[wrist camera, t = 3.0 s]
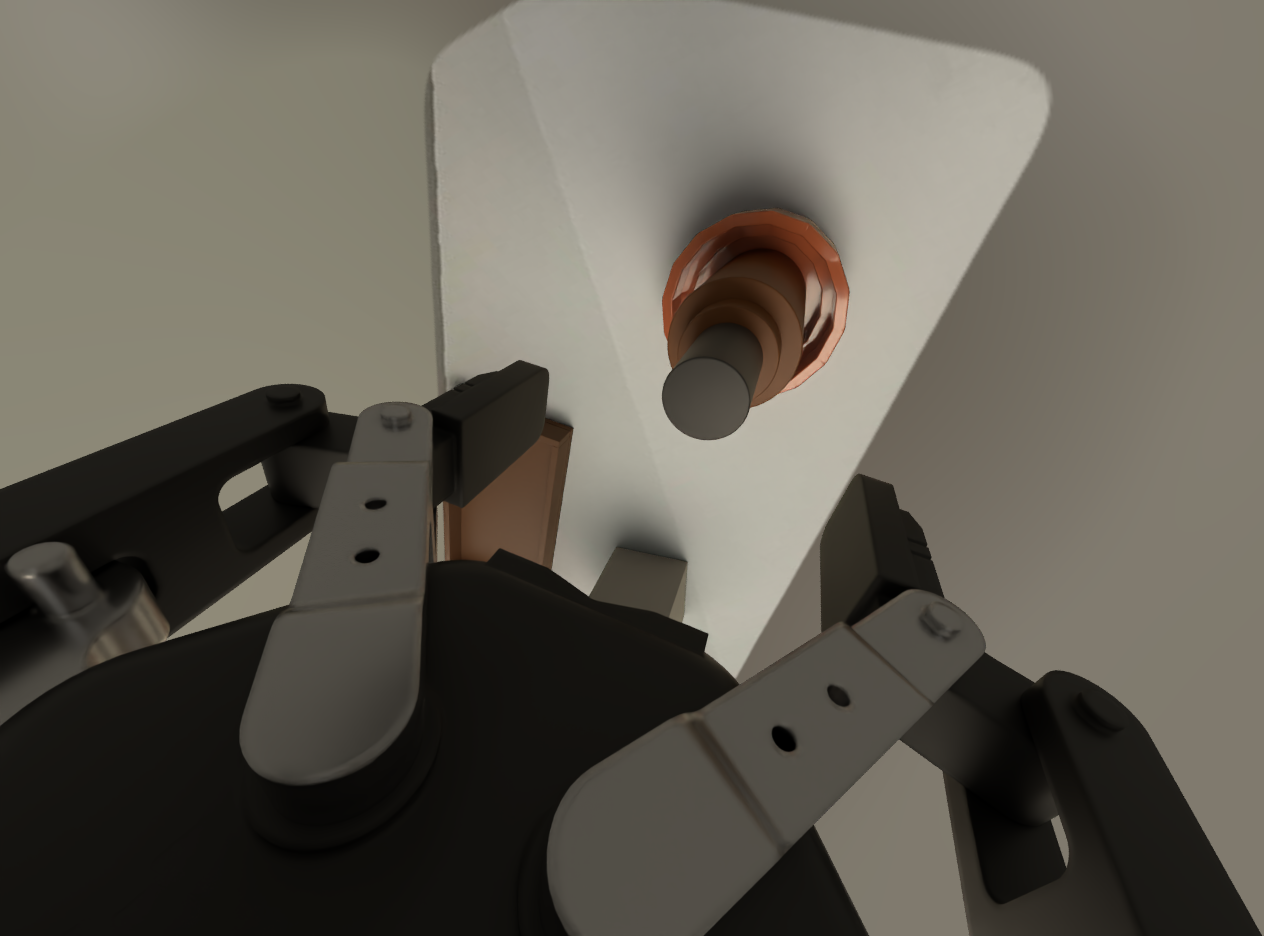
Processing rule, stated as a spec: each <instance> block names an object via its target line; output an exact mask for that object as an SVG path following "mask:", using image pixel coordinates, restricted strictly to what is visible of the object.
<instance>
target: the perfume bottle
mask: <svg viewBox="0 0 1264 936" xmlns="http://www.w3.org/2000/svg"><path fill="white" fill-rule="evenodd" d="M686 578H687V562H685V561H680V560H676V559H671V558H666V557H661V556H657V555H652V554H647V553H642V552H638V551H633V550H628V549H623V548H619V547H616V548H615V550H614V552H613V554H612V556H611V557H610V559H609V561H608V563H607V565H606V567H605V568H604V570H603V572H602V574H601V576H600V577H599V579H598V581H597V583H596V585H595V586H594V588H593V590H592V592H591V594H590V595H589V597H590V598H592V599H594V600H597V601H601V602H606V603H612V604H617V605H622V606H628V607H633V608H638V609H644V610H649V611H654V612H657V613H659V614H661V615H664V616H666V617H669V618H671V619H674V620H676V621H678V622H681V623H682V621H683V617H684V610H685V594H686Z"/></svg>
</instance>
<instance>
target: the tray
mask: <svg viewBox="0 0 1264 936" xmlns="http://www.w3.org/2000/svg"><path fill="white" fill-rule="evenodd" d="M572 434H573V428H571V427H569V426H566V425H563V424H560V423H558V422H555V421H552V420H549V419H547V418H545V423H544V428H543V431H542V433H541V435H540V437H539V439H538V440H537V442H536V443H535V444H534V445H533V446H532V447H530V448H529V449H528V450H527V451H526V452H525V453H524V454H523V455H522V456H520V457H519V458H518V459H517V460H516V461H515V462H514V463H513V464H512V465H510V466H509V467H508V468H507V469H506V470H505V471H504V472H503V473H501V474H500V475H499V476H498V477H497V478H496V479H495V480H494V481H493V482H491V483H490V484H489V485H488V486H487V487H486V488H485V489H484V490H483V491H481V492H480V493H479V494H478V495H477V496H476V497H475V498H474V499H472V500H471V501H470V502H469V503H468V504H467V505H466V506H465V507H464V508H460V507H458V506H455V505H453V504H450V503H448V502H445V501H443V508H444V542H445V561H449V560H478V561H485V562H487V561H488V560H489V559H490V558H491V557H492V556H493V555H494V553H495V552H496V551H497V550H498V549H499V548H501V549H504V550H506V551H508V552H511V553H513V554H516V555H518V556H521V557H523V558H525V559H528V560H530V561H533V562H535V563H538V564H540V565H542V566H545V567H547V568H549V569H550V570H551V568H552V562H553V555H554V549H555V542H556V536H557V530H558V523H559V517H560V510H561V504H562V498H563V491H564V485H565V478H566V472H567V466H568V459H569V453H570V446H571V440H572Z"/></svg>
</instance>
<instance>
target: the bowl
mask: <svg viewBox="0 0 1264 936" xmlns="http://www.w3.org/2000/svg"><path fill="white" fill-rule="evenodd" d="M758 248H766V249H772V250H776V251H779V252H781V253H783V254H785V255H786V256H788V257H789V258H791V259H792V260H793V261H794V262H795V263H796V265H797V266H798V267H799V269H800V271H801V272H802V275H803V277H804V281H805V285H806V305H805V320H804V335H803V348H802V355H801V359H800V362H799V365H798V368H797V370H796V372H795V374H794V376H793V377H792V379H791V380H790V382H789V383H788V384H787V385H786V387H785V388H784V389H783V390H782V391H781V392H779V393H782V392H785V391H788V390H791V389H794V388H796V387H798V386H799V385H801V384H802V383H803V382H804V381H806V380H807V379H808V378H809V377H810V376H812V375H813V374H814V373H815V372H816V371H818V370H819V369H820V368H821V367H823V366H824V365H825V363H827V361H828V359H829V357H830V356H831V354H832V352H833V350H834V349H835V347H836V345H837V343H838V341H839V340H840V338H841V336H842V334H843V333H844V330H845V325H846V317H847V309H848V301H849V293H850V292H849V287H848V284H847V280H846V277H845V274H844V271H843V267H842V264H841V261H840V258H839V255H838V252H837V249H836V247H835V245H834V243H833V242H832V241H831V240H830V239H829V238H828V237H827V236H826V235H825V234H824V233H823V232H822V231H821V230H820V229H819V227H818V226H817V225H816V224H815V223H814V222H813V221H812V220H810V219H808V218H806V217H803V216H800V215H797V214H795V213H792V212H789V211H786V210H783V209H781V208H768V209H758V210H748V211H742V212H739V213H735V214H732V215H730V216H728V217H726V218H724V219H723V220H721V221H719V222H717V223H715V224H714V225H712V226H710V227H708V228H707V229H705V230H703V231H701V232H699V233H698V234H697V235H696V236H695V237H694V238H693V240H692V241H691V242H690V243H689V245H688V246H687V247H686V248H685V250H684V251H683V252H682V253H681V255H680V256H679V257H678V258H677V260H676V261H675V262H674V264H673V266H672V269H671V272H670V275H669V278H668V281H667V285H666V288H665V291H664V294H663V297H662V307H663V324H664V333H665V336H666V339H667V341H668V333H669V328H670V325H671V322H672V319H673V317H674V315H675V313H676V311H677V309H678V308H679V306H680V305H681V304H682V302H683V301H684V300H685V299H686V298H687V297H688V296H689V295H690V294H691V293H692V292H693V291H694V290H696V289H697V288H698V287H699V286H700V285H702V284H703V283H704V282H705V281H706V280H707V279H709V278H710V277H711V276H712V275H713V274H715V273H716V272H717V271H718V270H719V269H721V268H722V267H723V266H724V265H725V264H727V263H728V262H729V261H730V260H731V259H733V258H734V257H736V256H737V255H739V254H741V253H743V252H745V251H748V250H752V249H758ZM779 393H778V394H779Z"/></svg>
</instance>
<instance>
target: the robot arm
mask: <svg viewBox="0 0 1264 936" xmlns="http://www.w3.org/2000/svg"><path fill="white" fill-rule="evenodd" d="M548 386H549V372H548V370H547V369H546V368H543V367H540V366H537V365H534V364H531V363H528V362H525V361H522V360H518V361H516V362H515V363H513V364H511V365H509V366H507V367H506V368H504V369H502V370H500V371H499V372H498V371H495V372H490V373H485V374H481V375H477V376H476V377H474V378H472V379H470V380H468V381H466V382H465V384H461V385H459V386H457V387H455V388H454V390H450V391H448V392H446V393H444V394H442V395H441V396H439V397H437V398H435V399H433V400H431V401H429V402H428V403H426V404H424V405H422V406H420V405H417V404H413V403H408V402H386V403H380V404H376V405H373V406H371V407H368V408H367V409H365V410H363V411H362V412H361V413H360V415H359V417H357V416H351V415H345V414H338V413H332V412H328V410H327V405H326V400H325V395H324V394H323V392H321V391H320V390H318V389H316V388H314V387H311V386H306V385H300V384H279V385H271V386H266V387H262V388H259V389H256V390H253V391H251V392H248V393H246V394H243V395H240V396H238V397H236V398H233V399H230V400H228V401H225V402H223V403H220V404H218V405H215V406H213V407H210V408H207V409H205V410H202V411H200V412H197V413H194V414H192V415H189V416H187V417H184V418H182V419H179V420H176V421H174V422H171V423H169V424H167V425H164V426H161V427H159V428H156V429H153V430H151V431H148V432H146V433H143V434H141V435H138V436H135V437H133V438H130V439H128V440H125V441H123V442H120V443H117V444H115V445H112V446H110V447H107V448H105V449H102V450H100V451H97V452H94V453H92V454H89V455H87V456H84V457H82V458H79V459H77V460H74V461H71V462H69V463H66V464H64V465H61V466H59V467H56V468H53V469H51V470H48V471H46V472H43V473H41V474H38V475H35V476H33V477H30V478H28V479H25V480H23V481H20V482H18V483H15V484H12V485H10V486H7V487H5V488H2V489H0V936H869V935H868V933H867V931H866V929H865V927H864V925H863V923H862V921H861V919H860V917H859V915H858V913H857V911H856V909H855V907H854V905H853V903H852V901H851V899H850V897H849V895H848V893H847V891H846V889H845V887H844V885H843V883H842V881H841V879H840V877H839V875H838V873H837V870H836V868H835V866H834V864H833V863H832V861H831V858H830V856H829V854H828V852H827V850H826V848H825V846H824V844H823V843H822V840H821V838H820V836H819V834H818V832H817V830H816V828H815V826H814V824H815V823H816V822H817V821H818V819H820V818H821V816H823V815H824V814H825V813H826V812H827V811H828V809H830V807H832V806H833V805H834V804H835V802H837V801H838V799H840V798H841V797H842V796H843V795H844V794H845V793H846V792H847V791H848V790H849V789H850V788H851V787H852V786H853V785H854V784H855V782H857V781H858V780H859V779H860V778H861V777H862V776H863V775H864V773H866V772H867V770H869V769H870V768H871V767H872V766H873V764H875V763H876V762H877V761H878V760H879V759H880V758H881V757H882V756H883V754H885V753H886V751H888V750H889V749H890V748H891V747H892V746H893V745H894V744H895V743H896V741H897V740H901V741H902V742H903V743H905V744H906V745H908V746H909V747H910V748H912V749H913V750H915V751H916V752H917V753H919V754H920V755H921V756H923V757H924V758H926V759H927V760H928V761H930V762H931V763H932V764H934V765H935V766H937V767H938V768H939V769H941V770H942V771H943V777H944V783H945V789H946V795H947V802H948V807H949V814H950V820H951V826H952V832H953V838H954V845H955V851H956V857H957V863H958V869H959V875H960V881H961V888H962V894H963V900H964V906H965V912H966V918H967V924H968V930H969V936H1262V935H1261V933H1260V931H1259V929H1258V928H1257V926H1256V924H1255V922H1254V921H1253V919H1252V917H1251V915H1250V913H1249V911H1248V910H1247V908H1246V906H1245V904H1244V903H1243V901H1242V899H1241V897H1240V895H1239V894H1238V892H1237V890H1236V889H1235V887H1234V885H1233V883H1232V881H1231V880H1230V878H1229V876H1228V874H1227V872H1226V871H1225V869H1224V867H1223V865H1222V863H1221V862H1220V860H1219V858H1218V856H1217V855H1216V853H1215V851H1214V849H1213V847H1212V846H1211V844H1210V842H1209V840H1208V839H1207V837H1206V835H1205V833H1204V832H1203V830H1202V828H1201V826H1200V824H1199V823H1198V821H1197V819H1196V817H1195V816H1194V814H1193V812H1192V810H1191V808H1190V807H1189V805H1188V803H1187V801H1186V799H1185V798H1184V796H1183V794H1182V792H1181V791H1180V789H1179V787H1178V785H1177V783H1176V782H1175V780H1174V778H1173V776H1172V775H1171V773H1170V771H1169V769H1168V768H1167V766H1166V764H1165V762H1164V760H1163V758H1162V757H1161V755H1160V753H1159V752H1158V750H1157V748H1156V746H1155V744H1154V742H1153V741H1152V739H1151V737H1150V736H1149V734H1148V732H1147V731H1146V729H1145V728H1144V727H1143V725H1142V724H1141V723H1140V721H1139V720H1138V719H1137V718H1136V717H1135V716H1134V715H1133V714H1132V713H1131V712H1130V711H1129V710H1128V709H1127V708H1126V707H1125V706H1124V705H1123V704H1122V703H1121V702H1119V701H1118V700H1117V699H1116V698H1115V697H1113V696H1112V695H1111V694H1109V693H1108V692H1106V691H1105V690H1104V689H1102V688H1100V687H1099V686H1097V685H1095V684H1094V683H1092V682H1090V681H1089V680H1086V679H1085V678H1083V677H1080V676H1078V675H1075V674H1072V673H1070V672H1065V671H1057V670H1055V671H1050V672H1048V673H1046V674H1045V675H1044V676H1043V677H1042V678H1040V679H1039V680H1038V681H1037V682H1036V683H1034V682H1033V681H1031V680H1029V679H1028V678H1026V677H1024V676H1023V675H1021V674H1019V673H1018V672H1016V671H1014V670H1013V669H1011V668H1009V667H1007V666H1006V665H1004V664H1002V663H1001V662H999V661H997V660H996V659H994V658H993V657H991V656H989V655H988V654H987V653H985V649H986V643H985V639H984V636H983V634H982V632H981V631H980V629H979V628H978V626H977V625H976V624H975V622H974V621H973V620H972V619H971V618H970V617H969V616H968V615H967V614H966V613H965V612H964V611H962V610H961V609H960V608H959V607H957V606H956V605H954V604H953V603H952V602H950V601H948V600H946V599H945V598H944V595H943V592H942V589H941V586H940V582H939V579H938V576H937V573H936V570H935V567H934V564H933V561H931V554H930V551H929V548H927V542H926V539H925V536H924V533H923V530H922V528H921V527H920V526H919V524H918V523H917V522H916V521H915V520H914V518H913V517H912V516H911V515H910V513H909V512H907V511H904V510H901V509H899V505H898V502H897V498H896V494H895V491H894V487H893V485H892V484H889V483H886V482H883V481H880V480H877V479H874V478H871V477H868V476H865V475H862V474H857V475H856V476H855V477H854V478H853V480H852V481H851V483H850V484H849V486H848V488H847V490H846V491H845V493H844V495H843V497H842V498H841V500H840V502H839V504H838V505H837V507H836V509H835V511H834V512H833V514H832V516H831V518H830V519H829V521H828V523H827V525H826V527H825V530H824V532H823V535H822V539H821V543H820V571H821V572H820V575H821V633H820V634H819V635H817V636H816V637H814V638H813V639H811V640H810V641H808V642H806V643H805V644H803V645H801V646H800V647H798V648H797V649H795V650H794V651H792V652H790V653H789V654H787V655H786V656H784V657H783V658H781V659H779V660H778V661H776V662H775V663H773V664H772V665H770V666H768V667H767V668H765V669H764V670H762V671H760V672H759V673H757V674H756V675H754V676H753V677H751V678H749V679H748V680H746V681H745V682H743V683H742V684H740V685H739V684H738V682H737V681H736V680H735V678H734V677H733V676H732V675H731V674H730V673H729V672H728V671H727V670H726V669H725V668H724V667H723V666H721V665H720V664H719V663H718V662H717V661H716V660H714V659H713V658H712V657H711V656H709V655H708V654H706V653H705V652H704V651H705V647H706V642H707V638H708V633H705V632H703V631H700V630H698V629H695V628H693V627H691V626H688V625H686V624H683V623H681V622H678V621H676V620H674V619H671V618H669V617H666V616H664V615H661V614H659V613H657V612H654V611H649V610H644V609H638V608H633V607H628V606H622V605H617V604H612V603H606V602H601V601H597V600H594V599H592V598H590V597H589V596H587V595H586V594H584V593H583V592H581V591H580V590H579V589H577V588H576V587H574V586H573V585H572V584H570V583H569V582H567V581H566V580H564V579H563V578H562V577H560V576H559V575H557V574H556V573H555V572H553V571H552V570H550V569H549V568H547V567H545V566H542V565H540V564H538V563H535V562H533V561H530V560H528V559H525V558H523V557H521V556H518V555H516V554H513V553H511V552H508V551H506V550H504V549H501V548H499V549H498V550H497V551H496V552H495V553H494V555H493V556H492V557H491V558H490V559H489V560H488V561H487V562H485V561H478V560H449V561H440V562H437V527H438V524H437V523H438V522H437V520H438V515H437V506H438V505H439V504H440V503H441V502H443V501H445V502H448V503H450V504H453V505H455V506H458V507H460V508H464V507H465V506H466V505H467V504H468V503H469V502H470V501H471V500H472V499H474V498H475V497H476V496H477V495H478V494H479V493H480V492H481V491H483V490H484V489H485V488H486V487H487V486H488V485H489V484H490V483H491V482H493V481H494V480H495V479H496V478H497V477H498V476H499V475H500V474H501V473H503V472H504V471H505V470H506V469H507V468H508V467H509V466H510V465H512V464H513V463H514V462H515V461H516V460H517V459H518V458H519V457H520V456H522V455H523V454H524V453H525V452H526V451H527V450H528V449H529V448H530V447H532V446H533V445H534V444H535V443H536V442H537V440H538V439H539V437H540V435H541V433H542V431H543V428H544V423H545V415H546V405H547V395H548ZM260 462H261V463H262V466H263V469H264V473H265V476H266V480H267V483H268V485H267V486H265V487H263V488H262V489H260V490H258V491H256V492H255V493H253V494H251V495H250V496H248V497H246V498H244V499H243V500H241V501H239V502H238V503H236V504H235V505H233V506H231V507H229V508H228V509H226V510H224V511H221V508H220V506H219V503H218V496H219V493H220V490H221V488H222V487H223V485H224V484H225V483H226V482H227V481H228V480H229V479H231V478H232V477H234V476H236V475H238V474H240V473H242V472H243V471H245V470H247V469H249V468H251V467H253V466H255V465H257V464H258V463H260ZM310 532H312V533H311V537H310V540H309V544H308V547H307V550H306V553H305V556H304V560H303V563H302V566H301V570H300V573H299V576H298V579H297V583H296V586H295V589H294V593H293V596H292V599H291V602H290V604H289V605H286V606H283V607H279V608H276V609H273V610H269V611H266V612H263V613H259V614H256V615H253V616H249V617H246V618H242V619H239V620H236V621H232V622H229V623H226V624H222V625H219V626H215V627H212V628H208V629H205V630H202V631H199V632H195V633H191V634H188V635H185V636H182V637H178V638H175V639H172V640H168V641H166V640H167V638H168V637H170V636H171V635H172V634H173V633H175V632H176V631H178V630H179V629H180V628H182V627H183V626H184V625H186V624H187V623H188V622H190V621H191V620H192V619H194V618H195V617H196V616H198V615H199V614H201V613H202V612H203V611H205V610H206V609H207V608H209V607H210V606H211V605H213V604H214V603H216V602H217V601H218V600H219V599H221V598H222V597H223V596H225V595H226V594H228V593H229V592H230V591H232V590H233V589H234V588H236V587H237V586H239V584H241V583H243V582H244V581H245V580H247V579H248V578H249V577H251V576H252V575H253V574H255V573H256V572H257V571H259V570H260V569H261V568H263V567H264V566H265V565H267V564H268V563H270V562H271V561H272V560H274V559H275V558H276V557H278V556H279V555H280V554H282V553H283V552H285V551H286V550H287V549H288V548H290V547H291V546H293V545H294V544H295V543H297V542H298V541H299V540H301V539H302V538H303V537H305V536H306V535H307V534H309V533H310ZM1058 815H1059V817H1060V819H1061V823H1062V826H1063V829H1064V831H1065V834H1066V838H1067V841H1068V846H1069V860H1068V865H1067V868H1066V866H1065V863H1064V859H1063V856H1062V853H1061V851H1060V847H1059V844H1058V841H1057V838H1056V835H1055V832H1054V829H1053V826H1052V823H1051V819H1052V818H1054V817H1056V816H1058Z"/></svg>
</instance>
